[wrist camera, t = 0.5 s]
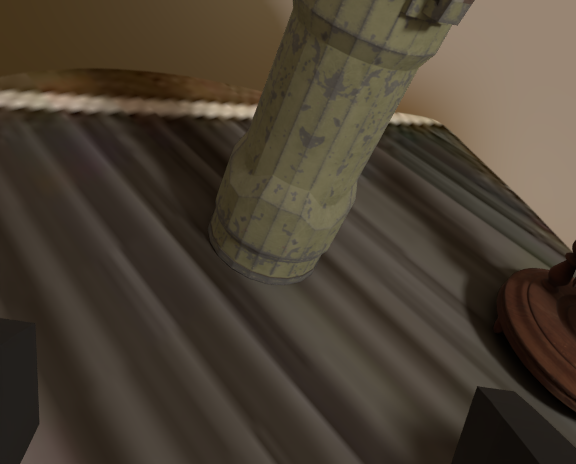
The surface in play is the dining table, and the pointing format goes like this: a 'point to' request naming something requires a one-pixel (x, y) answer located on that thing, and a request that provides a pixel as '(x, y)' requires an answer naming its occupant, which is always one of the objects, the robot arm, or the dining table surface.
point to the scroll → (543, 324)
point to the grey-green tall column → (319, 128)
